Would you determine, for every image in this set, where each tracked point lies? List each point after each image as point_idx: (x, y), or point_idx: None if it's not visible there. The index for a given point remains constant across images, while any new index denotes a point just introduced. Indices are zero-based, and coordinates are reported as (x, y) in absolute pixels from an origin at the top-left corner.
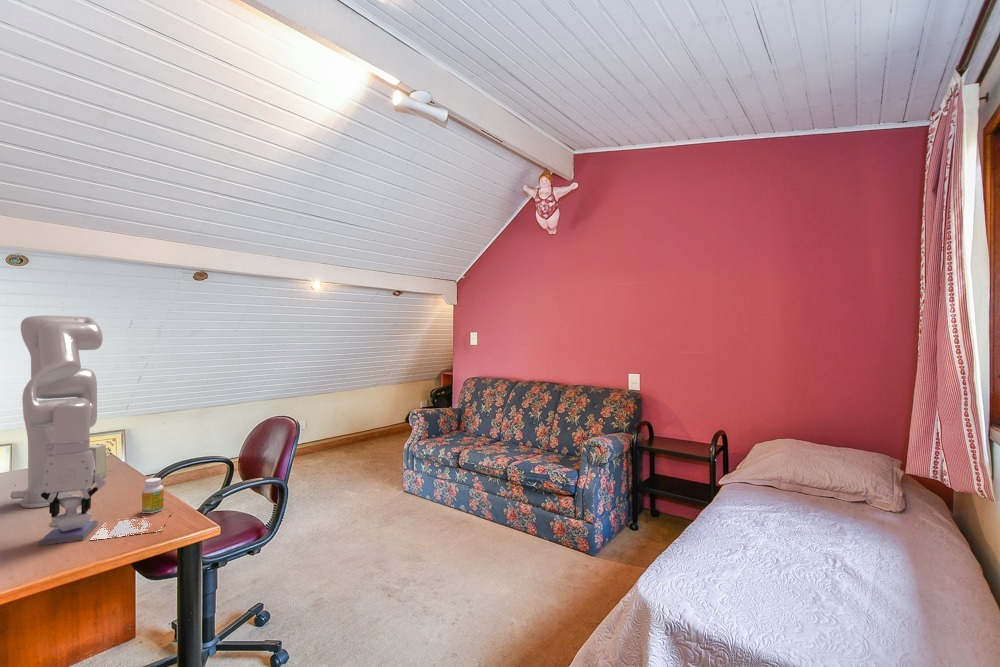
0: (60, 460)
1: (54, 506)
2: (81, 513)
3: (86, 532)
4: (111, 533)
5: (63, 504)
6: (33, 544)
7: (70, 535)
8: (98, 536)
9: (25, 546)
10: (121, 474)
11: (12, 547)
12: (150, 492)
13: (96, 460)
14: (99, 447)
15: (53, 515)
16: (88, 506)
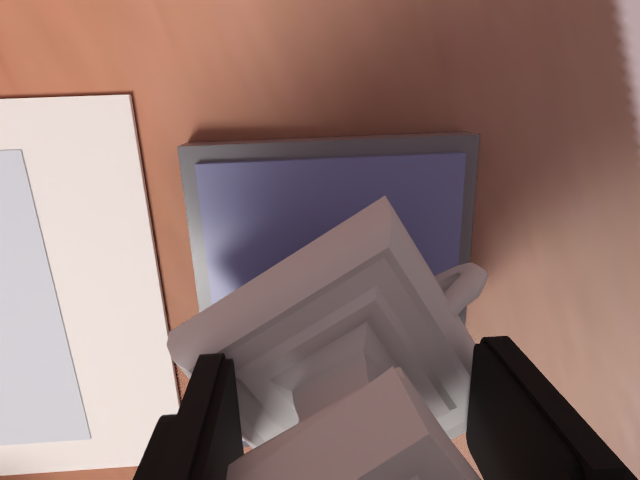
0: None
1: (547, 425)
2: (232, 359)
3: (190, 219)
4: (17, 201)
5: (440, 432)
6: (512, 184)
7: (279, 163)
8: (95, 169)
9: (552, 162)
10: None
11: (626, 174)
12: None
13: None
14: None
15: (495, 346)
16: (156, 435)
